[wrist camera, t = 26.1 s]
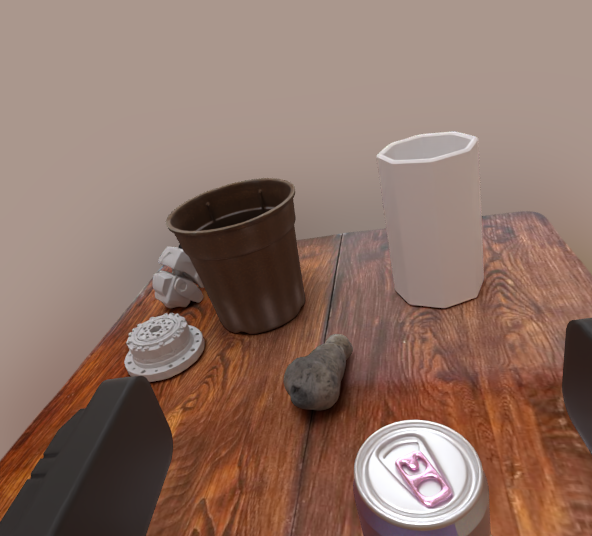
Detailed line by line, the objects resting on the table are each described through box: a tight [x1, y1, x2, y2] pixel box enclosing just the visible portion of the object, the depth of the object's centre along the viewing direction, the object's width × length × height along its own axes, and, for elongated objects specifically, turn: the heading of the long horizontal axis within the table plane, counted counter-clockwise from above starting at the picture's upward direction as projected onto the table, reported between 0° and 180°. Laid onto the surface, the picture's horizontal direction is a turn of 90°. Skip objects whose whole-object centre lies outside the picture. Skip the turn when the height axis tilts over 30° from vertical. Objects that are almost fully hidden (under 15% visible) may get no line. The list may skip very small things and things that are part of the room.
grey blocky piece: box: [153, 245, 204, 308], centre depth 72 cm, size 6×7×10 cm
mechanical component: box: [124, 313, 205, 382], centre depth 60 cm, size 10×4×10 cm
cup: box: [376, 132, 484, 308], centre depth 58 cm, size 11×11×18 cm
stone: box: [284, 334, 353, 411], centre depth 49 cm, size 10×5×8 cm
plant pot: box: [166, 178, 305, 334], centre depth 62 cm, size 16×16×16 cm
